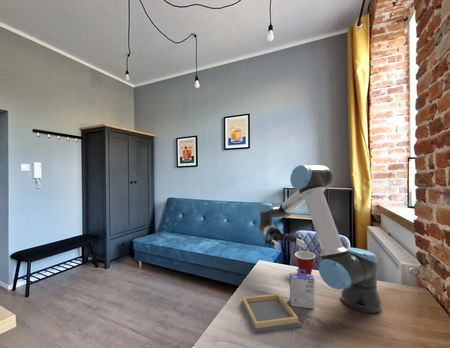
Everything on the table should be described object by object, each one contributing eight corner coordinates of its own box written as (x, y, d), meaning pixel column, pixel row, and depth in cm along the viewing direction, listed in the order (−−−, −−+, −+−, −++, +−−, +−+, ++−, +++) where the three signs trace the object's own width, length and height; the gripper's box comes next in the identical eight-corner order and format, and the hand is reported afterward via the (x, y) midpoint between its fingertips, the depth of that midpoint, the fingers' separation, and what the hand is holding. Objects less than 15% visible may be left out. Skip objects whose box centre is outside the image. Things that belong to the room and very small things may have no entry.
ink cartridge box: (312, 301, 97) (312, 269, 97) (315, 309, 92) (315, 274, 92) (289, 299, 99) (289, 267, 99) (290, 306, 94) (290, 272, 94)
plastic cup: (290, 272, 126) (290, 251, 126) (306, 270, 129) (306, 249, 129) (302, 281, 115) (302, 258, 115) (319, 278, 118) (319, 256, 118)
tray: (279, 299, 99) (279, 292, 99) (301, 326, 81) (301, 318, 81) (240, 303, 95) (240, 296, 95) (254, 333, 77) (254, 325, 77)
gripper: (292, 238, 128) (314, 252, 107) (251, 241, 123) (266, 255, 102) (292, 226, 128) (314, 236, 107) (251, 227, 123) (266, 239, 102)
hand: (291, 246), depth 104 cm, fingers open, 13 cm apart
